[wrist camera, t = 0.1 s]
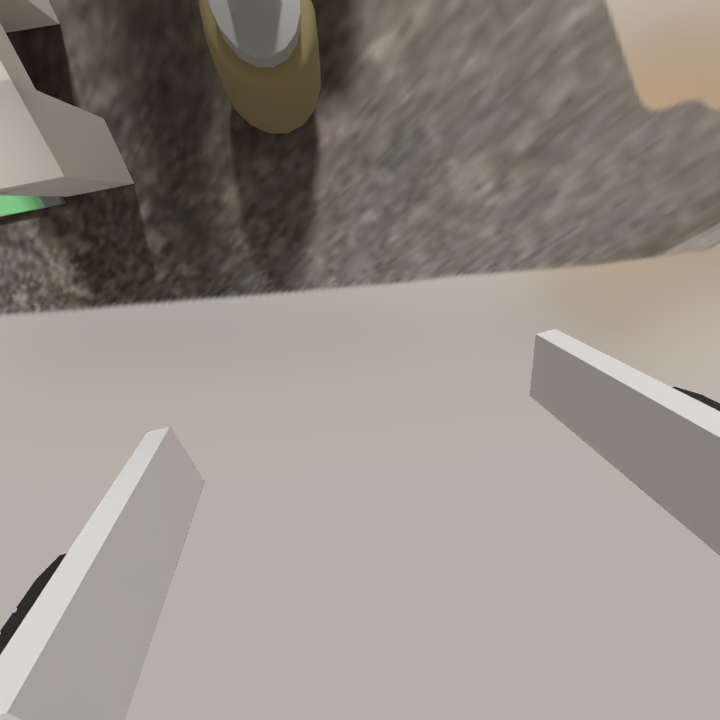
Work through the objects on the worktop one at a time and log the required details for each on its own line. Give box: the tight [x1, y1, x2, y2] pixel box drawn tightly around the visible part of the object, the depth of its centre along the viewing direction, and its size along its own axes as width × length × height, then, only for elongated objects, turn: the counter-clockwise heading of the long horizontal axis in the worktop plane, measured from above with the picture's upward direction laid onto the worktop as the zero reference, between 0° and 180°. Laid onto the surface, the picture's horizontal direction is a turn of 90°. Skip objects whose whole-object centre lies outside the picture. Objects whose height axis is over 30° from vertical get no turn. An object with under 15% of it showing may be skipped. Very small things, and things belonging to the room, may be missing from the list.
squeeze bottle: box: [198, 0, 321, 133], centre depth 20 cm, size 8×8×18 cm
